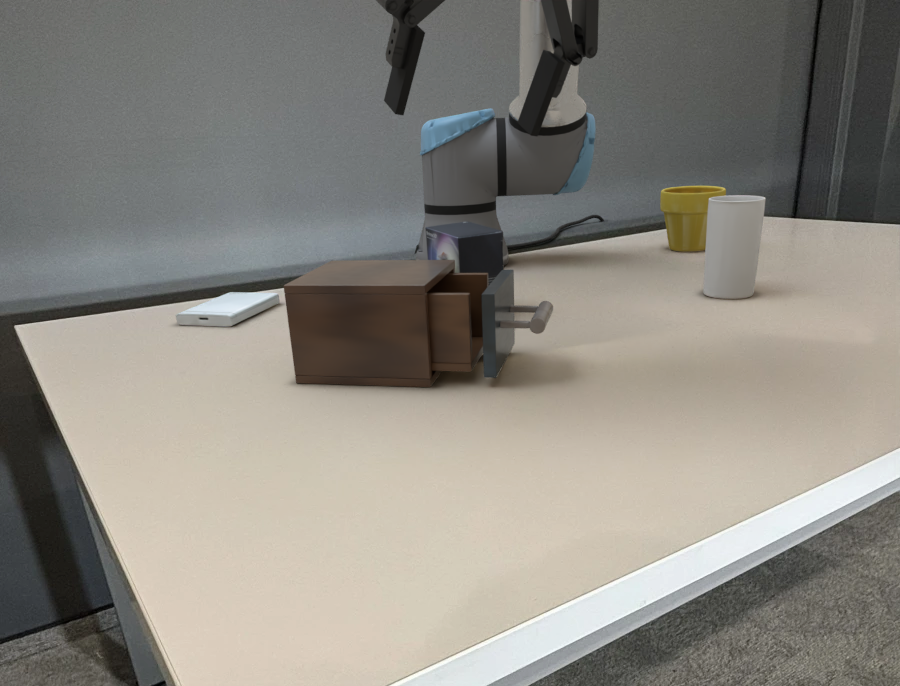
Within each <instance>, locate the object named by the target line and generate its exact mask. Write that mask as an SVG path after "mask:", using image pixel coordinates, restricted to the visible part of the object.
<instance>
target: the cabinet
mask: <svg viewBox="0 0 900 686" xmlns="http://www.w3.org/2000/svg"><path fill="white" fill-rule="evenodd" d="M448 273H455V260H416V259H373V260H372V259H369V260H367V259H365V260H364V259H363V260H361V259H360V260H359V259H357V260H348V259H347V260H342V259H341V260H330V261H328V262H326V263H324V264H322V265H320V266H318V267H316V268H315V269H312V270H311V271H308V272H306V273H305V274H302V275H301V276H298V277H297V278H295V279H293V280H291V281H289V282H288V283H286V284H284V285H283V294H284V299H285V308H286V315H287V323H288V331H289V332H288V333H289V339H290V345H291V355H292V361H293V370H294V375H295V376H294V378H295V382H296V383H295V384H309V385H311V384H314V385H345V386H346V385H347V386H377V387H411V388H414V387H415V388H431V387H432V386H433V384H434V383H435V382H436V380H437V379H438V378H439V377H440V375H441V373H442V372H443V371H432V370H431V352H430V335H429V318H428V300H427V292H428V291H429V290H430V289H431V288H432V287H433V286H435V285H436V284H437V283H438V282H439V281H440V280H441V279H442V278H444V277H445V276H446V275H447V274H448Z"/></svg>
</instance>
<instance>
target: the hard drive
mask: <svg viewBox="0 0 900 686" xmlns="http://www.w3.org/2000/svg"><path fill="white" fill-rule="evenodd" d="M280 301H281V300H280V294H279V293H276V292H255V291H254V292H247V291H245V292H244V291H243V292H241V291H239V292H238V291H229V292H227V293H224V294H221V295H220V296H217V297H214V298H211V299H209V300H207V301H205V302H202V303H200V304H197V305H195V306H192V307H190V308H187V309H186V310H183V311H180V312H179V313H176V314H175V320H176V324H177V325H180V326H198V327H199V326H200V327H201V326H203V327H204V326H205V327H224V328H225V327H226V328H228V327H232V326H234V325H237V324H238V323H241V322H243V321H245V320H247V319H249V318H251V317H254V316H255V315H258V314H259V313H261V312H264V311H266V310H267V309H270V308H272V307H274V306H276V305H278V304H279V303H281V302H280Z"/></svg>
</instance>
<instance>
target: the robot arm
mask: <svg viewBox="0 0 900 686" xmlns="http://www.w3.org/2000/svg"><path fill="white" fill-rule="evenodd" d="M375 1H376V2H377V3H378V4H379V5H380V6H381V7H382V8H383V9H384V11H386V12H387V13H388V14H389V15H391V16H392V24H391V29H390V33H389V37H388V41H387V46H386V49H385V61H386V62H387V63H388V64H389V65H390V66H391V69H390V73H389V78H388V81H387V86H386V90H385V94H384V98H383V102H385V104H386V105H387V106H388V108H389V109H390V110H391V111H392V112H393V114H394V115H397V116H404V115H405V111H406V107H407V103H408V100H409V96H410V92H411V88H412V84H413V82H414V77H415V73H416V69H417V66H418V63H419V58H420V54H421V51H422V46H423V43H424V39H425V35H426V32H425V31H424V29H422V28H421V27H420V26H419V24H420V23H421V22H422V21H424V20H425V19H426V18H427V17H428V16H429V15H431V13H433V11H435V10H436V9H437V8H439V7H440V6H441V5H442V4H443V3H444V2H445V1H446V0H375ZM599 2H600V0H519V38H518V39H519V42H518V43H519V47H518V48H519V52H518V53H519V54H518V56H519V58H518V63H519V64H518V65H519V66H518V68H519V69H518V95H517V96H516V97H515V98H514V99H513V100H512V101H511V102H510V104H509V105H508V106H509V107H508V116H507V117H496V113H495V111H494V108H492V107H491V108H490V107H489V108H485V109H479V110H474V111H468V112H464V113H459V114H454V115H448V116H443V117H438V118H434V119H429V120H427V121H426V122H425V123H424V124H423V125H422V127H421V130H420V151H419V155H420V156H421V167H422V168H421V169H422V188H423V189H422V190H423V205H424V206H423V207H424V209H423V210H424V221H423V225H422V229H421V232H420V235H419V236H420V237H419V240H418V244H417V245H416V246H415V250H414V255H415V260H428V256H427V242H426V229H425V227H430V226H437V225H445V224H452V223H459V222H466V221H468V222H472V223H475V224H479V225H483V226H486V227H490V228H494V229H498V230H502V228H501V224H500V221H499V218H498V215H497V197H517V196H520V197H521V196H541V195H552V196H559V195H560V194H569V193H571V194H572V193H577V192H579V191H580V190H582V189H583V187H584V186H585V185H586V183H587V181H588V179H589V176H590V174H591V169H592V165H593V161H594V160H593V159H594V153H595V142H596V141H595V140H596V135H597V133H596V132H597V129H596V120H595V119H596V118H595V117H594V114H592V113H589V112H588V111H587V107H588V105H587V103H586V101H585V100H584V99H583V98H582V97H581V96H580V95H579V94H578V89H579V88H578V86H579V71H580V64H581V63H582V61H583V59H584V58H587V59H593V58H594V57H595V56H596V55H597V53H598V51H599V50H598V48H599V12H600V11H599V5H600V3H599ZM592 219H597V220H598V221H600V222H605V220H604V218H603V217H602V216H601V215H599V214H591V215H588V216H586V217H584V218H581V219H579V220H573V221H570V222H566V223H564V224H562V225H560V226H559V227H557V228H556V230H555V232H553V233H552V234H551V235H549V236H547V237H544V238H541V239H537V240H532V241H528V242H522V243H516V244H507V242H506V239H505V237H504V235H503V265H504V266H506V265H507V264H508V263H509V250H514V249H521V248H527V247H531V246H535V245H540V244H543V243H547V242H549V241H552V240H553V239H554V238H555V237H557V236H558V235H559V234H560V231H562V230H563V229H566V228H569V227H572V226H576V225H580V224H582V223H585V222H587V221H590V220H592Z"/></svg>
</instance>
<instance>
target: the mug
mask: <svg viewBox="0 0 900 686" xmlns="http://www.w3.org/2000/svg"><path fill="white" fill-rule="evenodd" d="M766 199H767V198H766V197H764V196H761V195H748V194H747V195H746V194H745V195H743V194H742V195H741V194H734V195H733V194H732V195H726V196H717V197H711V198H709V203H708V214H707V232H706V249H705V250H704V251H705V252H704V265H703V267H704V268H703V286H702V287H703V289H702V291H703V292H702V293H703V295H704V296H706V297H709V298H714V299H720V300H721V299H723V300H739V299H740V300H741V299H746V298H750V297H752V296H753V295H754V293H755V286H756V278H757V273H758V272H757V271H758V265H759V257H760V247H761V242H762V241H761V240H762V234H763V225H764V220H765V219H764V217H765V209H766Z"/></svg>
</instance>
